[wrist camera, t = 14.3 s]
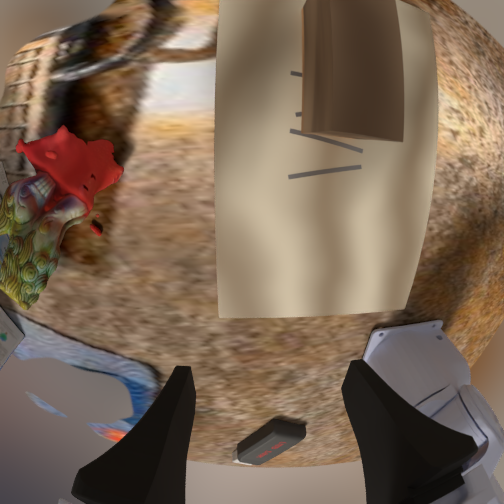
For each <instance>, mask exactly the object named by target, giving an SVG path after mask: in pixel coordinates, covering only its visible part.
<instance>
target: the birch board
mask: <svg viewBox="0 0 504 504" xmlns="http://www.w3.org/2000/svg"><path fill="white" fill-rule="evenodd" d="M395 1H396V7H397V13H398V19H399V26H400V34H401V43H402V55H403V69H404V138H403V142H393V141H380V140H364V139H350V138H342V137H334V136H325V135H314V134H303V133H301V120H302V16H301V10H302V8H303V6H304V4H305V2H306V0H220V4H219V19H218V36H217V56H216V83H215V134H214V182H215V236H216V266H217V289H218V309H219V318H279V317H308V316H328V315H344V314H358V313H370V312H381V311H391V310H401V309H405V306H406V303H407V300H408V297H409V294H410V291H411V287H412V284H413V280H414V277H415V273H416V270H417V266H418V262H419V258H420V254H421V250H422V246H423V241H424V237H425V232H426V227H427V222H428V217H429V211H430V205H431V199H432V192H433V184H434V176H435V167H436V156H437V141H438V80H437V66H436V55H435V47H434V39H433V33H432V27H431V21H430V16H429V13H427V12H425V11H423V10H421V9H419V8H417V7H414V6H412V5H410V4H407V3H405V2H403V1H400V0H395Z"/></svg>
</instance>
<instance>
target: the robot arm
mask: <svg viewBox="0 0 504 504" xmlns="http://www.w3.org/2000/svg"><path fill="white" fill-rule="evenodd" d="M442 325H443V321H442V320H435V321H429V322H423V323H417V324H411V325H404V326H397V327H389V328H381V329H375V330H374V331H373V332H372V333H371V336H370V339H369V342H368V345H367V347H366V350H365V353H364V356H363V358H362V359H360V360H352V361H351V363H350V366H349V368H348V371H347V374H346V377H345V379H344V382H343V385H342V387H341V390H342V395H343V400H344V404H345V408H346V411H347V414H348V417H349V419H350V422H351V425H352V428H353V431H354V434H355V436H356V439H357V442H358V446H359V449H360V454H361V459H362V464H363V471H364V477H365V487H366V501H367V504H504V492H503V490H502V488H501V487H500V485H499V483H498V481H497V480H496V478H495V476H494V475H493V472H494V470H495V468H496V466H497V464H498V462H499V460H500V458H501V456H502V454H503V452H504V430H503V428H502V427H501V425H500V424H499V421H498V419H497V417H496V415H495V414H494V411H493V410H492V408H491V407H490V405H489V404H488V403H487V401H486V399H485V398H484V397H483V395H482V394H481V393H480V392H479V391H478V390H477V388H476V387H474V386H473V385H470V380H471V376H470V369H469V366H468V363H467V361H466V360H465V358H464V357H463V356H462V354H461V353H460V352H459V351H458V349H457V348H456V347H455V346H454V344H453V343H452V342H451V341H450V339H449V338H448V337H447V336H446V335H445V333H444V332H443V331H442V330H441V327H442ZM380 333H381V334H380ZM195 404H196V391H195V386H194V381H193V376H192V371H191V366H176V367H175V368H174V370H173V372H172V374H171V376H170V378H169V379H168V381H167V383H166V384H165V386H164V388H163V389H162V391H161V392H160V394H159V395H158V397H157V398H156V400H155V401H154V403H153V404H152V405H151V407H150V408H149V409H148V410H147V412H146V413H145V414H144V416H143V417H142V418H141V419H140V420H139V422H138V423H137V424H136V425H135V426H134V427H133V428H132V429H131V430H130V431H129V432H128V433H127V434H126V435H125V436H124V437H123V438H122V439H121V440H120V441H119V442H118V443H117V444H115V445H114V446H113V447H112V448H110V449H109V450H108V451H107V452H105V453H104V454H103V455H101V456H100V457H98V458H97V459H95V460H94V461H92V462H91V463H89V464H87V465H86V466H84V467H82V468H81V469H79V471H78V473H77V475H76V478H75V481H74V484H73V487H72V491H71V493H72V495H73V496H74V497H76V498H77V499H79V500H80V501H82V502H84V503H86V504H185V481H186V480H185V479H186V461H187V453H188V447H189V442H190V436H191V431H192V426H193V420H194V415H195ZM58 504H73V503H70V502H68V501H66V500H63V499H59V502H58Z"/></svg>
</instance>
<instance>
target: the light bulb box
mask: <svg viewBox="0 0 504 504" xmlns="http://www.w3.org/2000/svg"><path fill="white" fill-rule="evenodd" d="M8 186H9V184H8V180H7V177H6V174H5V170H4V167H3V163H2V162H0V204H1V202H2V199H3V196H4V193H5V191H6V189H7V187H8ZM9 239H10V237H9V235H8V234H4V235H1V236H0V268H1V266H2V263H3V257H4V254H5V251H6V249H7V247H8V243H9Z"/></svg>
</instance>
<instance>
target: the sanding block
mask: <svg viewBox="0 0 504 504" xmlns="http://www.w3.org/2000/svg"><path fill="white" fill-rule="evenodd" d="M301 16H302V120H301V133H303V134H314V135H325V136H334V137H342V138H350V139H364V140H380V141H393V142H403V138H404V69H403V55H402V43H401V34H400V26H399V19H398V13H397V7H396V1H395V0H306V2H305V4H304V6H303V8H302V10H301Z"/></svg>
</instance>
